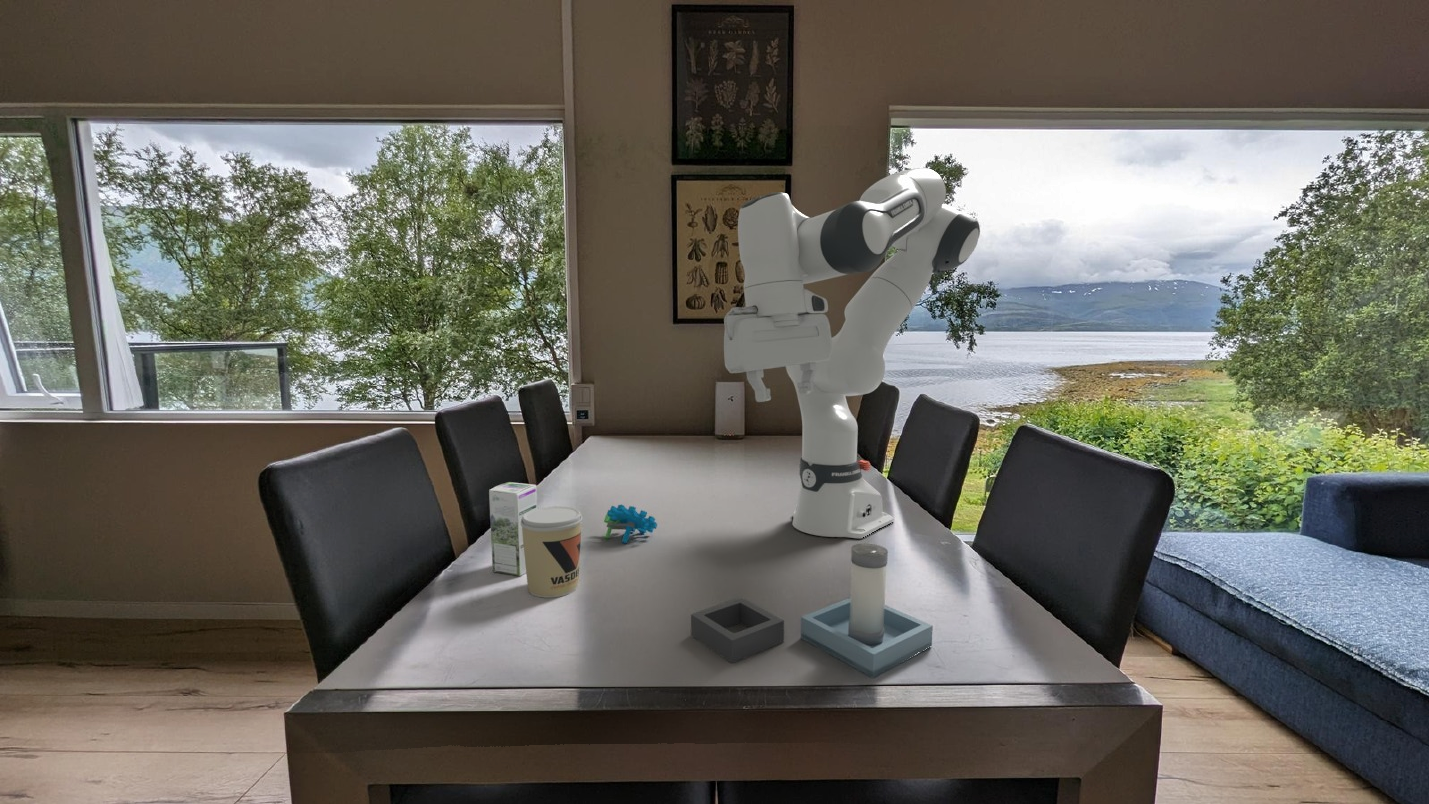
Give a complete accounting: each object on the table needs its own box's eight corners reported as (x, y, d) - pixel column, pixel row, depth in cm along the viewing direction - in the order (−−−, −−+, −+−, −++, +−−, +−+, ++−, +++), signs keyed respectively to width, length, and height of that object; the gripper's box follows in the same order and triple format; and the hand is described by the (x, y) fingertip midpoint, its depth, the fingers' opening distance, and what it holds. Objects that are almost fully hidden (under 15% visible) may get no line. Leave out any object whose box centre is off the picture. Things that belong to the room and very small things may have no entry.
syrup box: (540, 564, 109) (538, 483, 107) (519, 577, 104) (516, 491, 102) (512, 560, 111) (510, 480, 109) (490, 572, 105) (487, 488, 104)
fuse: (863, 625, 86) (866, 541, 85) (891, 638, 83) (895, 551, 81) (840, 635, 84) (844, 548, 82) (868, 649, 80) (872, 558, 79)
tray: (859, 613, 92) (859, 594, 91) (931, 647, 82) (932, 625, 82) (800, 638, 84) (801, 616, 84) (872, 678, 75) (873, 654, 75)
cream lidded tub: (552, 605, 94) (550, 527, 92) (509, 591, 98) (507, 516, 97) (595, 584, 101) (594, 511, 100) (554, 571, 106) (552, 502, 105)
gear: (666, 527, 124) (642, 501, 118) (658, 555, 121) (633, 529, 114) (621, 526, 130) (595, 501, 123) (611, 553, 126) (585, 528, 119)
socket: (741, 617, 90) (741, 597, 90) (783, 642, 83) (784, 620, 83) (691, 635, 85) (691, 614, 85) (732, 663, 78) (732, 640, 78)
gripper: (738, 304, 85) (750, 406, 86) (834, 300, 98) (843, 388, 99) (708, 310, 89) (720, 407, 90) (803, 306, 103) (813, 390, 104)
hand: (785, 397), depth 95 cm, fingers open, 8 cm apart
